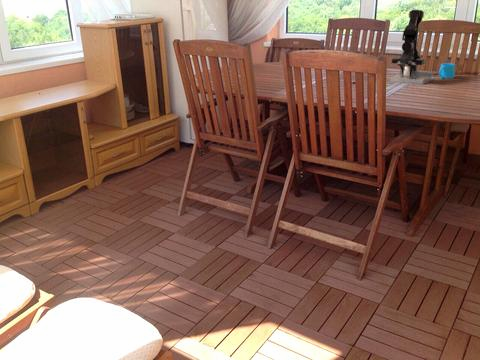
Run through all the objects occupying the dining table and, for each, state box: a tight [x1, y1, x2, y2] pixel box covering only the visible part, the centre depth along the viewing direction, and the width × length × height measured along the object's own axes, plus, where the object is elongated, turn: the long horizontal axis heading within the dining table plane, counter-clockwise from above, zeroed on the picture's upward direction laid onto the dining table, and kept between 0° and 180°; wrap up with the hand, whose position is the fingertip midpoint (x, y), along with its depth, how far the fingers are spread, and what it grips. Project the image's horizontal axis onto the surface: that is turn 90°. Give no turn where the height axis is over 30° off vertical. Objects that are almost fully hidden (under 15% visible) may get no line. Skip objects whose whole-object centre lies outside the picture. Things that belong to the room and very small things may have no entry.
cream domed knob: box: [403, 65, 411, 77], centre depth 307 cm, size 4×4×7 cm
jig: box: [390, 69, 434, 85], centre depth 306 cm, size 16×20×4 cm
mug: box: [438, 62, 456, 79], centre depth 309 cm, size 12×8×8 cm
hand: (406, 75), depth 308 cm, fingers closed on cream domed knob, 4 cm apart
